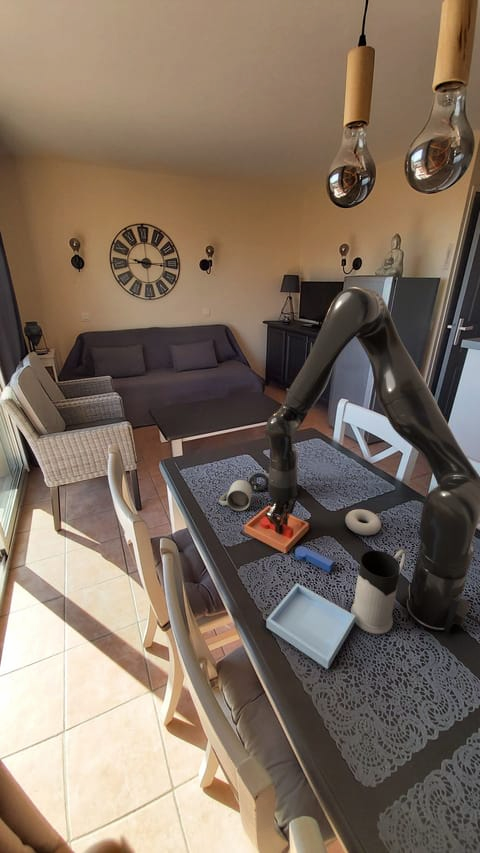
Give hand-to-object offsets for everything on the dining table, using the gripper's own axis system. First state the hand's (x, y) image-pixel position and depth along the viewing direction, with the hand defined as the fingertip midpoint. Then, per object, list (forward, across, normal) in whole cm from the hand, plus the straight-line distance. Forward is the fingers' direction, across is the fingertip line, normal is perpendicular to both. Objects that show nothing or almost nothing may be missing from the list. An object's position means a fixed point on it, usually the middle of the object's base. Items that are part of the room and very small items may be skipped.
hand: (281, 530), depth 105 cm
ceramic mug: (+1, +3, +20) cm, 20 cm away
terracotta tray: (+1, 0, +2) cm, 2 cm away
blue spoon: (+1, -4, -13) cm, 13 cm away
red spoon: (0, 0, +2) cm, 2 cm away
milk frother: (+1, +17, +15) cm, 22 cm away
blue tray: (+1, -21, -21) cm, 30 cm away
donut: (+1, +17, -17) cm, 24 cm away
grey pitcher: (+1, -8, -31) cm, 32 cm away
